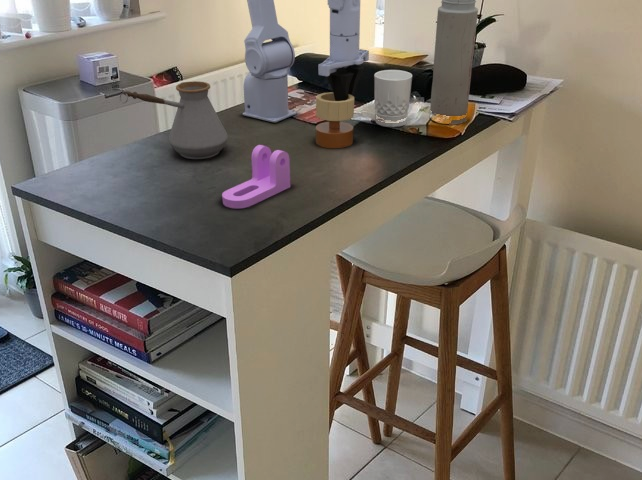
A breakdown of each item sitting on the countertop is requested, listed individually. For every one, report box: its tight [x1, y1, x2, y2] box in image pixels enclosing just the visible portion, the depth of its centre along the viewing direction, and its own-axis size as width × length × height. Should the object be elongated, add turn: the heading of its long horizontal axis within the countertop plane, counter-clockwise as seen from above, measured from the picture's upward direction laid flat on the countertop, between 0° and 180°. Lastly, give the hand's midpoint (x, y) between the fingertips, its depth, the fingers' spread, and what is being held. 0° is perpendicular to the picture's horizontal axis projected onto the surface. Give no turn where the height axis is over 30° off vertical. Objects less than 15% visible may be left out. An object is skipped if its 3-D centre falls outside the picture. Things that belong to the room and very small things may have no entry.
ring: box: [315, 91, 355, 122], centre depth 149 cm, size 7×7×4 cm
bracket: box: [221, 144, 291, 210], centre depth 129 cm, size 13×6×7 cm, turn 141°
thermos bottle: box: [429, 0, 479, 126], centre depth 156 cm, size 8×8×28 cm
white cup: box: [373, 69, 413, 128], centre depth 160 cm, size 8×8×10 cm
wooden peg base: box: [315, 121, 354, 149], centre depth 151 cm, size 8×8×7 cm
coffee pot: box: [119, 80, 229, 160], centre depth 141 cm, size 21×12×15 cm, turn 136°
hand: (343, 105), depth 151 cm, fingers closed on ring
